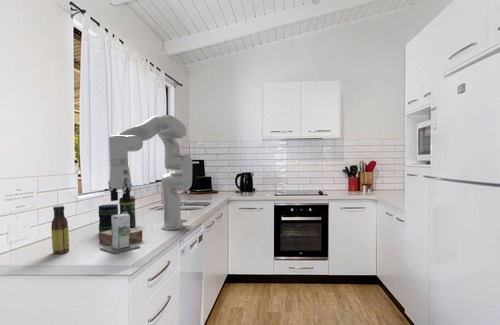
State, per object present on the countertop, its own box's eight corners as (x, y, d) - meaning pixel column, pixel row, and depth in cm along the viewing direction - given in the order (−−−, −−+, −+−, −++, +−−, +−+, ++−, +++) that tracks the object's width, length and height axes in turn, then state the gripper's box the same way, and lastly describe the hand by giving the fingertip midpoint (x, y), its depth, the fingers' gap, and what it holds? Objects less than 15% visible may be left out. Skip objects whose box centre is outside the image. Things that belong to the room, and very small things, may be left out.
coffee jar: (124, 225, 194) (123, 194, 194) (137, 225, 194) (136, 194, 194) (117, 228, 185) (117, 196, 185) (131, 228, 184) (130, 196, 184)
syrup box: (123, 244, 146) (123, 213, 146) (130, 246, 142) (130, 214, 142) (111, 247, 141) (110, 214, 141) (118, 249, 137) (117, 216, 137)
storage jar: (122, 231, 178) (121, 204, 178) (112, 235, 168) (112, 206, 168) (105, 230, 179) (104, 204, 179) (94, 235, 169) (94, 206, 169)
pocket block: (126, 237, 163) (126, 227, 163) (142, 240, 155) (142, 230, 155) (99, 242, 152) (99, 232, 152) (115, 247, 144) (115, 236, 144)
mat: (125, 243, 150) (125, 242, 150) (140, 247, 143) (140, 246, 143) (100, 249, 140) (100, 248, 140) (114, 254, 133) (114, 252, 133)
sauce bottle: (65, 249, 141) (65, 204, 141) (71, 251, 137) (71, 205, 137) (49, 252, 136) (48, 206, 136) (55, 255, 132) (54, 207, 132)
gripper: (137, 162, 139) (139, 201, 140) (116, 162, 150) (117, 199, 150) (121, 163, 133) (123, 204, 134) (100, 163, 144) (102, 201, 144)
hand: (120, 201), depth 142 cm, fingers open, 9 cm apart
